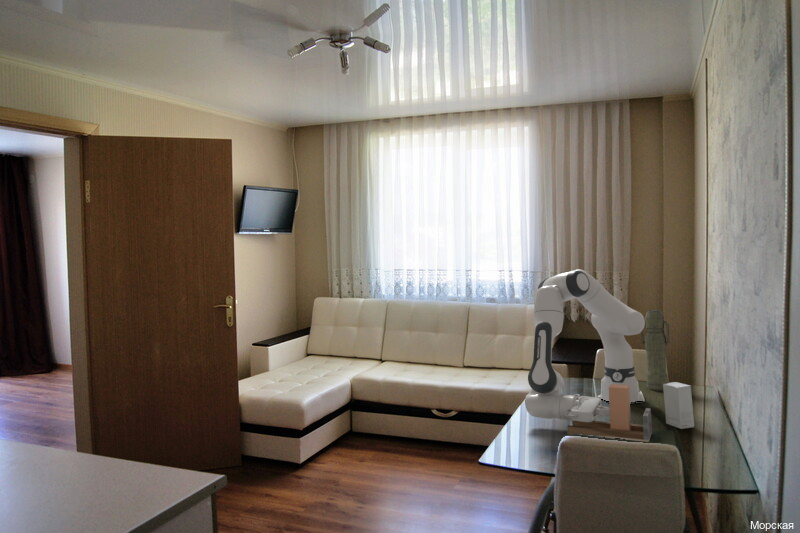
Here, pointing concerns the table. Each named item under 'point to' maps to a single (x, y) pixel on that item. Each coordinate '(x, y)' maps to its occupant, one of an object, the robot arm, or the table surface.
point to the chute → (605, 431)
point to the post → (619, 407)
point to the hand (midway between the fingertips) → (610, 411)
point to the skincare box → (678, 405)
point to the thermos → (655, 349)
